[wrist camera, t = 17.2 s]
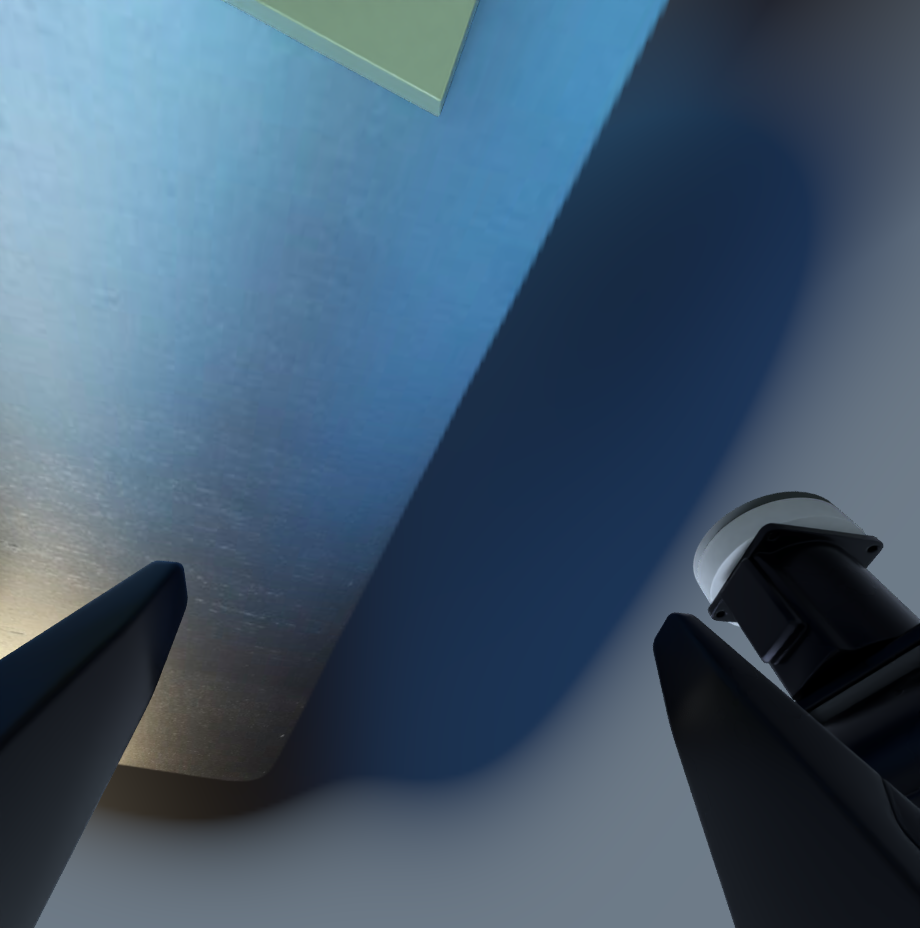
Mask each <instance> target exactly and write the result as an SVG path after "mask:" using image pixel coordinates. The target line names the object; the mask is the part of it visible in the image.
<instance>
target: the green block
mask: <svg viewBox="0 0 920 928" xmlns="http://www.w3.org/2000/svg"><path fill="white" fill-rule="evenodd" d="M222 1H224V2H226V3H228V4H229V5H231V6H233V7H235V8H237V9H239V10H241V11H242V12H244V13H246V14H248V15H250V16H252V17H253V18H255V19H257V20H259V21H261V22H263V23H265V24H266V25H268V26H270V27H272V28H274V29H276V30H278V31H279V32H281V33H283V34H285V35H287V36H289V37H291V38H292V39H294V40H296V41H298V42H300V43H302V44H304V45H305V46H307V47H309V48H311V49H313V50H315V51H317V52H318V53H320V54H322V55H324V56H326V57H328V58H330V59H331V60H333V61H335V62H337V63H339V64H341V65H343V66H344V67H346V68H348V69H350V70H352V71H354V72H356V73H357V74H359V75H361V76H363V77H365V78H367V79H369V80H370V81H372V82H374V83H376V84H378V85H380V86H382V87H383V88H385V89H387V90H389V91H391V92H393V93H394V94H396V95H398V96H400V97H402V98H404V99H406V100H407V101H409V102H411V103H413V104H415V105H417V106H419V107H420V108H422V109H424V110H426V111H428V112H430V113H432V114H433V115H435V116H437V117H439V116H440V113H441V110H442V107H443V105H444V102H445V99H446V96H447V93H448V90H449V87H450V84H451V81H452V78H453V76H454V73H455V70H456V67H457V64H458V61H459V58H460V55H461V52H462V49H463V47H464V44H465V41H466V38H467V35H468V32H469V29H470V26H471V23H472V20H473V18H474V15H475V12H476V9H477V6H478V3H479V0H222Z"/></svg>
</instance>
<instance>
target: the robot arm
mask: <svg viewBox="0 0 920 928" xmlns="http://www.w3.org/2000/svg"><path fill="white" fill-rule="evenodd" d="M882 548H883V543H882V542H881V541H879V540H878V539H877V538H876V537H874V536H868V535H861V534H853V533H846V532H838V531H831V530H824V529H816V528H809V527H801V526H794V525H786V524H779V523H769V524H766V525H764V526H763V527H762V528H761V529H760V530H759V531H758V533H757V534H756V536H755V537H754V539H753V541H752V542H751V544H750V545H749V547H748V548H747V550H746V551H745V553H744V554H743V556H742V557H741V559H740V561H739V562H738V564H737V565H736V567H735V568H734V570H733V571H732V573H731V574H730V576H729V577H728V579H727V580H726V582H725V584H724V585H723V587H722V588H721V590H720V591H719V593H718V594H717V596H716V597H715V599H714V600H713V602H712V604H711V605H710V607H709V609H708V613H709V614H710V616H711V617H712V619H714V620H716V621H726V622H736V623H738V624H739V626H740V627H741V629H742V630H743V632H744V634H745V635H746V637H747V638H748V640H749V641H750V643H751V644H752V646H753V647H754V649H755V650H756V652H757V653H758V655H759V657H760V658H761V660H762V661H763V662H764V663H769V664H770V666H771V667H772V669H773V670H774V672H775V673H776V675H777V676H778V678H779V679H780V681H781V682H782V684H783V685H784V687H785V688H786V690H787V691H788V693H789V694H790V696H791V697H792V699H793V700H795V702H794V701H793V700H792V699H791V698H790V697H789V696H787V695H786V694H785V693H784V692H783V691H782V690H780V689H779V688H778V687H777V686H776V685H775V684H773V683H772V682H771V681H770V680H769V679H767V678H766V677H765V676H764V675H763V674H762V673H761V672H760V671H758V670H757V669H756V668H755V667H754V666H752V665H751V664H750V663H749V662H748V661H746V660H745V659H744V658H743V657H742V656H741V655H740V654H738V653H737V652H736V651H735V650H734V649H733V648H732V647H730V646H729V645H728V644H727V643H726V642H725V641H723V640H722V639H721V638H720V637H719V636H717V635H716V634H715V633H714V632H713V631H712V630H711V629H709V628H708V627H707V626H706V625H705V624H704V623H702V622H701V621H700V620H699V619H698V618H696V617H695V616H693V615H691V614H684V613H672V614H670V615H669V616H668V617H667V619H666V620H665V622H664V624H663V626H662V627H661V629H660V631H659V632H658V634H657V635H656V637H655V639H654V643H653V651H654V656H655V661H656V665H657V670H658V675H659V679H660V684H661V688H662V693H663V697H664V702H665V706H666V711H667V715H668V719H669V723H670V727H671V731H672V734H673V737H674V740H675V744H676V747H677V750H678V753H679V756H680V759H681V762H682V765H683V769H684V772H685V775H686V777H687V781H688V784H689V786H690V790H691V793H692V796H693V799H694V802H695V805H696V808H697V811H698V815H699V818H700V821H701V824H702V827H703V830H704V833H705V836H706V839H707V842H708V845H709V848H710V852H711V855H712V858H713V861H714V863H715V867H716V870H717V873H718V876H719V879H720V882H721V885H722V888H723V891H724V895H725V898H726V900H727V904H728V907H729V910H730V913H731V916H732V919H733V922H734V925H735V928H920V619H919V618H918V617H917V616H916V615H914V614H913V613H912V612H911V611H910V610H909V609H908V608H907V607H906V606H905V605H904V604H903V603H902V602H901V601H900V600H899V599H898V598H897V597H896V596H894V595H893V594H892V593H891V592H890V591H889V590H888V589H887V588H886V587H885V586H884V585H883V584H882V583H881V582H880V581H879V580H878V579H877V578H875V577H874V576H873V575H872V574H871V573H870V572H869V571H868V570H867V569H866V568H867V567H868V565H869V564H870V563H871V562H872V561H873V559H874V558H875V557H876V556H877V555H878V554H879V552H880V551H881V550H882ZM187 598H188V596H187V588H186V581H185V573H184V568H183V566H182V564H181V563H178V562H169V561H154V562H152V563H150V564H149V565H147V566H145V567H144V568H142V569H141V570H139V571H138V572H136V573H135V574H133V575H131V576H130V577H128V578H127V579H125V580H124V581H122V582H120V583H119V584H117V585H116V586H114V587H113V588H111V589H110V590H108V591H106V592H105V593H103V594H102V595H100V596H99V597H97V598H96V599H94V600H92V601H91V602H89V603H88V604H86V605H85V606H83V607H82V608H80V609H78V610H77V611H75V612H74V613H72V614H71V615H69V616H68V617H66V618H64V619H63V620H61V621H60V622H58V623H57V624H55V625H54V626H52V627H50V628H49V629H47V630H46V631H44V632H43V633H41V634H40V635H38V636H36V637H35V638H33V639H32V640H30V641H29V642H27V643H25V644H24V645H22V646H21V647H19V648H18V649H16V650H15V651H13V652H11V653H10V654H8V655H7V656H5V657H4V658H2V659H1V660H0V928H34V927H35V925H36V923H37V921H38V919H39V917H40V915H41V913H42V911H43V909H44V907H45V905H46V903H47V902H48V900H49V898H50V896H51V894H52V892H53V890H54V888H55V886H56V884H57V882H58V880H59V877H60V876H61V874H62V872H63V870H64V868H65V866H66V864H67V862H68V861H69V859H70V857H71V855H72V853H73V851H74V849H75V847H76V845H77V843H78V841H79V839H80V837H81V835H82V833H83V831H84V829H85V827H86V825H87V823H88V821H89V819H90V817H91V815H92V813H93V812H94V809H95V808H96V806H97V804H98V802H99V800H100V798H101V796H102V794H103V792H104V790H105V788H106V786H107V784H108V782H109V780H110V778H111V776H112V774H113V773H114V771H115V769H116V766H117V765H118V763H119V761H120V759H121V757H122V755H123V753H124V751H125V749H126V747H127V745H128V743H129V741H130V739H131V737H132V735H133V733H134V732H135V730H136V728H137V726H138V724H139V722H140V720H141V718H142V716H143V714H144V712H145V710H146V708H147V706H148V704H149V702H150V700H151V697H152V695H153V693H154V690H155V688H156V685H157V683H158V681H159V678H160V675H161V673H162V670H163V667H164V665H165V662H166V660H167V657H168V654H169V652H170V649H171V646H172V644H173V641H174V639H175V636H176V633H177V631H178V628H179V625H180V623H181V620H182V617H183V615H184V612H185V609H186V606H187Z"/></svg>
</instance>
